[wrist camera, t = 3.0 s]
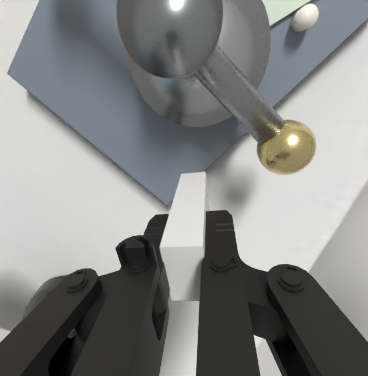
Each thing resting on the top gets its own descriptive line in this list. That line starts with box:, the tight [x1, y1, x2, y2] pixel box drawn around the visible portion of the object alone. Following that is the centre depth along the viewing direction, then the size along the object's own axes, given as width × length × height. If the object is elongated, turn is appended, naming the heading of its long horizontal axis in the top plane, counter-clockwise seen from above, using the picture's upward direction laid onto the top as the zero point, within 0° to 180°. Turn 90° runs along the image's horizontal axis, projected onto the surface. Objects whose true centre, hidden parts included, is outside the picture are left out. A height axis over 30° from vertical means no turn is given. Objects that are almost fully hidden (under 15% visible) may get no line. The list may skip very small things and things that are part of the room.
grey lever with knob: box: [116, 0, 316, 175], centre depth 12 cm, size 21×9×6 cm, turn 47°
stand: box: [7, 0, 368, 205], centre depth 16 cm, size 22×17×3 cm
